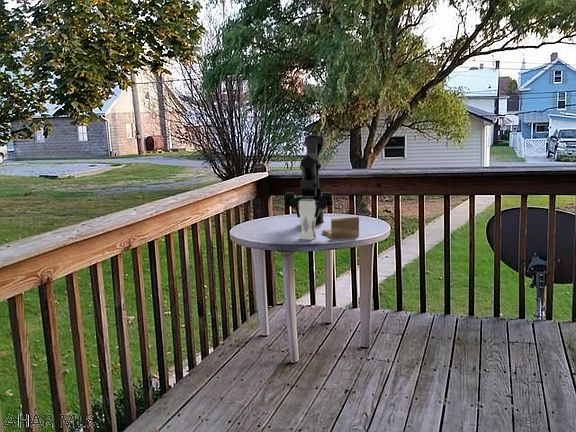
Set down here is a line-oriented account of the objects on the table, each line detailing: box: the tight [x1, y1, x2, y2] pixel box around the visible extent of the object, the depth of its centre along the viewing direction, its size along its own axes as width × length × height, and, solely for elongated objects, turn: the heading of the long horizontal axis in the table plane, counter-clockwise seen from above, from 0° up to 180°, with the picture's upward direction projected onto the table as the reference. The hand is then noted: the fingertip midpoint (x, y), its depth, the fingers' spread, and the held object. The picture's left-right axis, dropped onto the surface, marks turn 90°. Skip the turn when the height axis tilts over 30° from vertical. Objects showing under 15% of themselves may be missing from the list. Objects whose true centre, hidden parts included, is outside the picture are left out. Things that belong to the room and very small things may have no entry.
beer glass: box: [298, 199, 317, 241], centre depth 214 cm, size 7×7×15 cm
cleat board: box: [322, 215, 360, 240], centre depth 219 cm, size 10×11×8 cm
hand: (307, 217), depth 212 cm, fingers closed on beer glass, 7 cm apart
